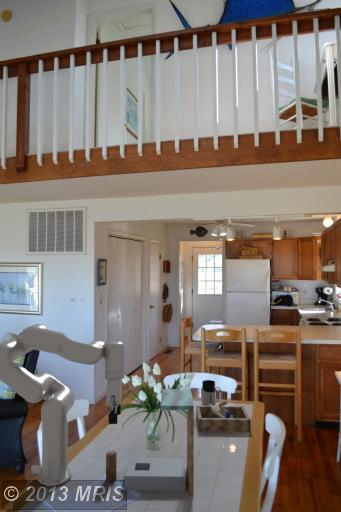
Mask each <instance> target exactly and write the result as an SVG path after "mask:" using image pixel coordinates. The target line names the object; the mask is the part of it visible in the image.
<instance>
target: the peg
mask: <svg viewBox="0 0 341 512" xmlns="http://www.w3.org/2000/svg"><path fill="white" fill-rule="evenodd" d="M117 455H118V453H117V451H115V450H109V451H106V453H105V482H107V483H109V484H112V483H115V482H116V481H117V463H118V462H117Z"/></svg>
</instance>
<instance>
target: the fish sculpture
mask: <svg viewBox="0 0 341 512" xmlns="http://www.w3.org/2000/svg"><path fill="white" fill-rule="evenodd" d="M227 404H228V402H227V401H222V402H220V403H219V404H218V405H215V406H213V405H212V404H209V407H210V408H211V409H212V412H213V413H214V415H213V418H218V417H219V418H234V417H233V415H232V414H231V413H230V412H229V411H228V410H226V409H224V408H222V407H221V406H227Z"/></svg>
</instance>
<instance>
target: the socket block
mask: <svg viewBox="0 0 341 512" xmlns="http://www.w3.org/2000/svg"><path fill="white" fill-rule="evenodd" d="M184 459H185V458H183V457H182V458H181V457H179V458H177V457H176V458H175V457H170V458H169V457H168V458H167V457H128V459H127V464H126V470H125V473H124V491H174V492H175V491H179V492H180V491H183V492H184V491H185V490H186V474H185V473H186V471H185V461H184Z"/></svg>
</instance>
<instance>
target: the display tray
mask: <svg viewBox="0 0 341 512" xmlns="http://www.w3.org/2000/svg"><path fill="white" fill-rule="evenodd" d="M221 407H222V408H224V409H226V410H228V411H229V412H230V413H231V414H232V415H233V417H234V418H219V417H218V418H213V415H214V413H213V412H212V409H211V408H210V407H209V406H202V405H196V407H195V408H196V411H195V412H196V413H195V416H196V418H195V419H196V422H197V428H198V432H199V433H202V432H206V433H207V432H217V433H218V432H220V433H221V432H222V433H223V432H224V433H231V432H232V433H245V432H246V433H251V432H252V424H251V423H252V420H251V417H250V416H249V413H248V412H247V410H246V408H245V407H244V406H243V405H224V406H221Z"/></svg>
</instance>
